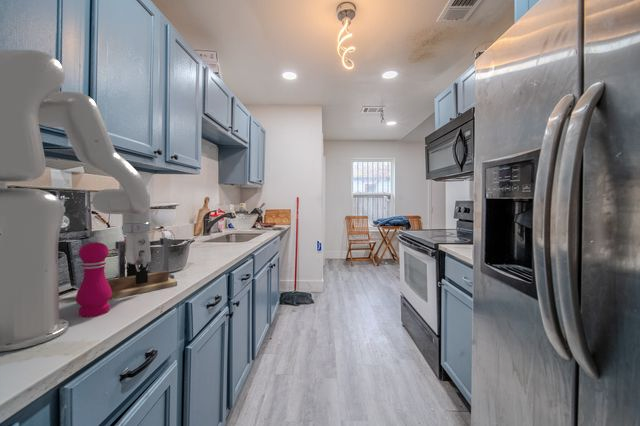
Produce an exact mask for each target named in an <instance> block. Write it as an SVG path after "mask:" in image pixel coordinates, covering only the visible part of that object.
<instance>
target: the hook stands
mask: <svg viewBox="0 0 640 426" xmlns="http://www.w3.org/2000/svg"><path fill="white" fill-rule="evenodd" d="M114 243H115V244H114V248H115V249H114V250H116V251H117V268H118V269H117V276H118V277H117V278H123V277H126V256H125V243H126V241H124V240H121V241H115V242H114ZM159 246H162V247H161V248H162V249H161V251H162V253H161V255H162V256H161V257H162V259H161V261H162V265H161V266H162V270H161V271H168V277H169V278H171V279H173V280H174V279H175V275H174V274H172V273H170V272H169V269H170V268H169V266H170V265H169V263H170V262H169V258H170V257H169V247H172V238H168V237H160V238H159Z"/></svg>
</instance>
